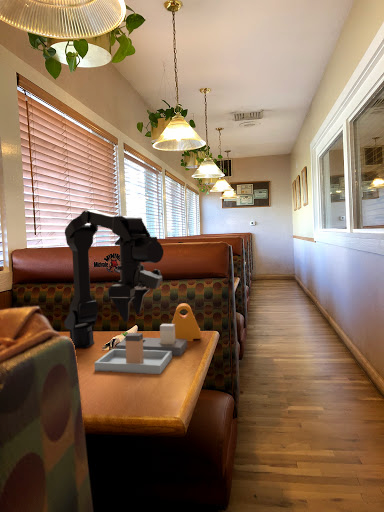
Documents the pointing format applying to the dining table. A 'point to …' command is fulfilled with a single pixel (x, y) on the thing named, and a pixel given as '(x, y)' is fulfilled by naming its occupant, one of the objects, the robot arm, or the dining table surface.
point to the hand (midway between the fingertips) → (132, 317)
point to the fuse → (167, 334)
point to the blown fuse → (134, 348)
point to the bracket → (185, 324)
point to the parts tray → (117, 363)
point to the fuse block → (160, 345)
